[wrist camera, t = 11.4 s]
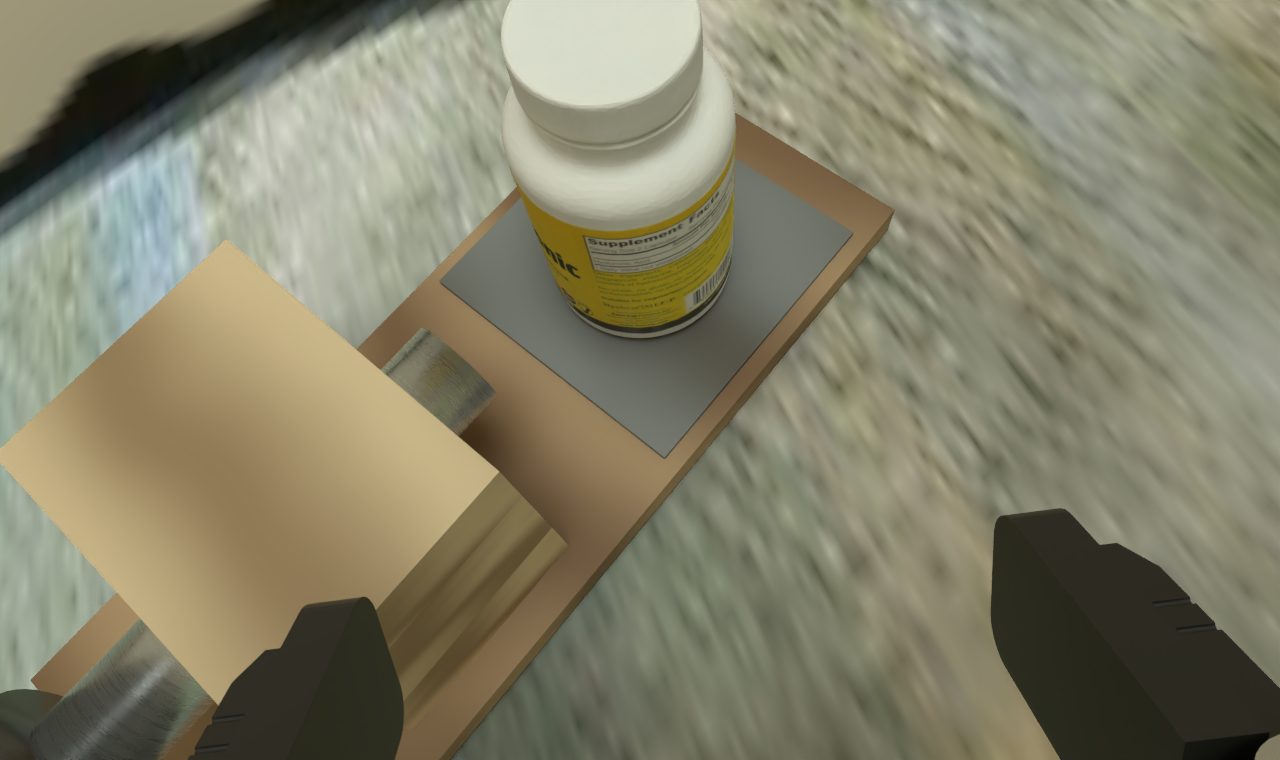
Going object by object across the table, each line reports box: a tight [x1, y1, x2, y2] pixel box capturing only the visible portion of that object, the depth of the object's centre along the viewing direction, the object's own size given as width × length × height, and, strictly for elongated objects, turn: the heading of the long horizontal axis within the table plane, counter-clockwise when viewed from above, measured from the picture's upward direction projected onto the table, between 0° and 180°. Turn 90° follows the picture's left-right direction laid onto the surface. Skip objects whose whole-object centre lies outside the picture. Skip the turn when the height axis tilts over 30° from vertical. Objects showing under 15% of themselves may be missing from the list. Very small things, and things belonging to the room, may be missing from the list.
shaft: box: [0, 328, 497, 760], centre depth 19 cm, size 13×4×4 cm, turn 140°
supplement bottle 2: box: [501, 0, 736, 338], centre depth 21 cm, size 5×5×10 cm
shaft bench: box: [0, 113, 895, 760], centre depth 21 cm, size 26×10×9 cm, turn 140°
